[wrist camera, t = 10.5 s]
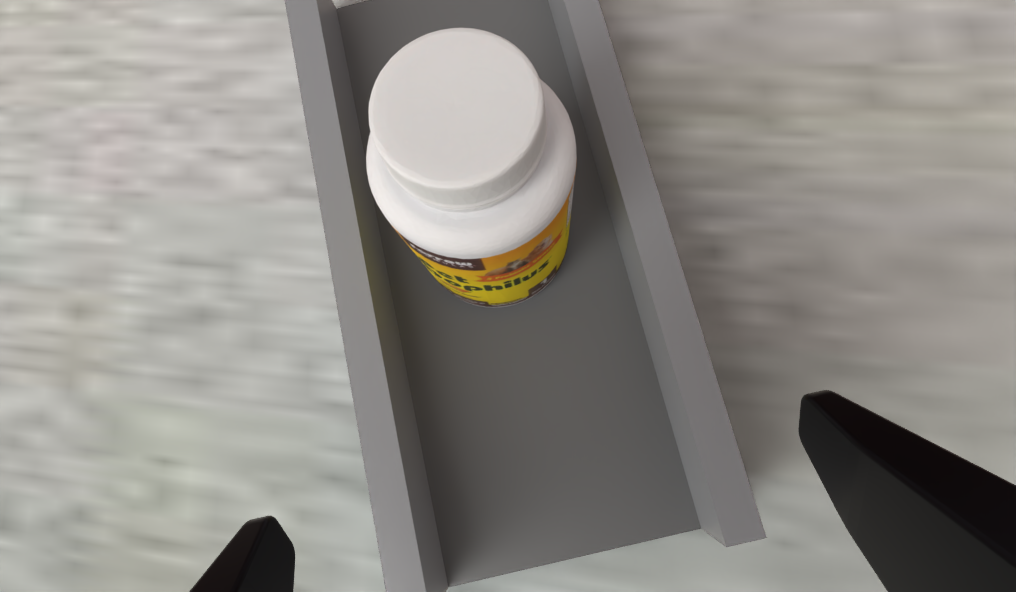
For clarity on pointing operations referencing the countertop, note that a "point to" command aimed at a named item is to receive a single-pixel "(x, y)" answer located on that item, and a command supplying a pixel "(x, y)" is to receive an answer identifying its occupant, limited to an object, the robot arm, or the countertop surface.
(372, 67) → the cable duct
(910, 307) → the countertop surface
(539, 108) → the supplement bottle
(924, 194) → the countertop surface
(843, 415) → the robot arm
